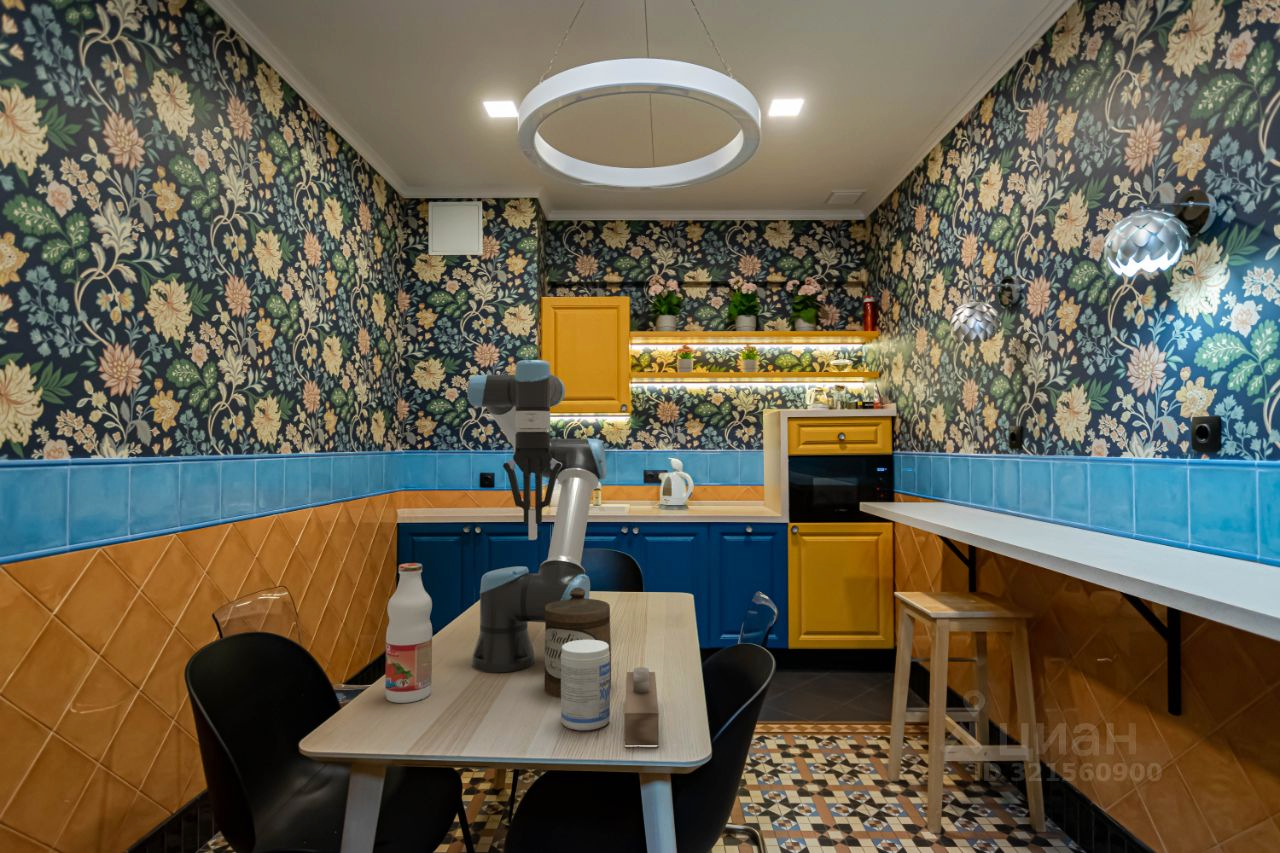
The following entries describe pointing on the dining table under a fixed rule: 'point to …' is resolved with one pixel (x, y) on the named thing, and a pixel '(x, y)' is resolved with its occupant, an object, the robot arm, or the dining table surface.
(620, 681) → the dining table surface
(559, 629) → the wooden container
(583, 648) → the supplement tub
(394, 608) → the fruit juice
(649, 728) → the bench stop
